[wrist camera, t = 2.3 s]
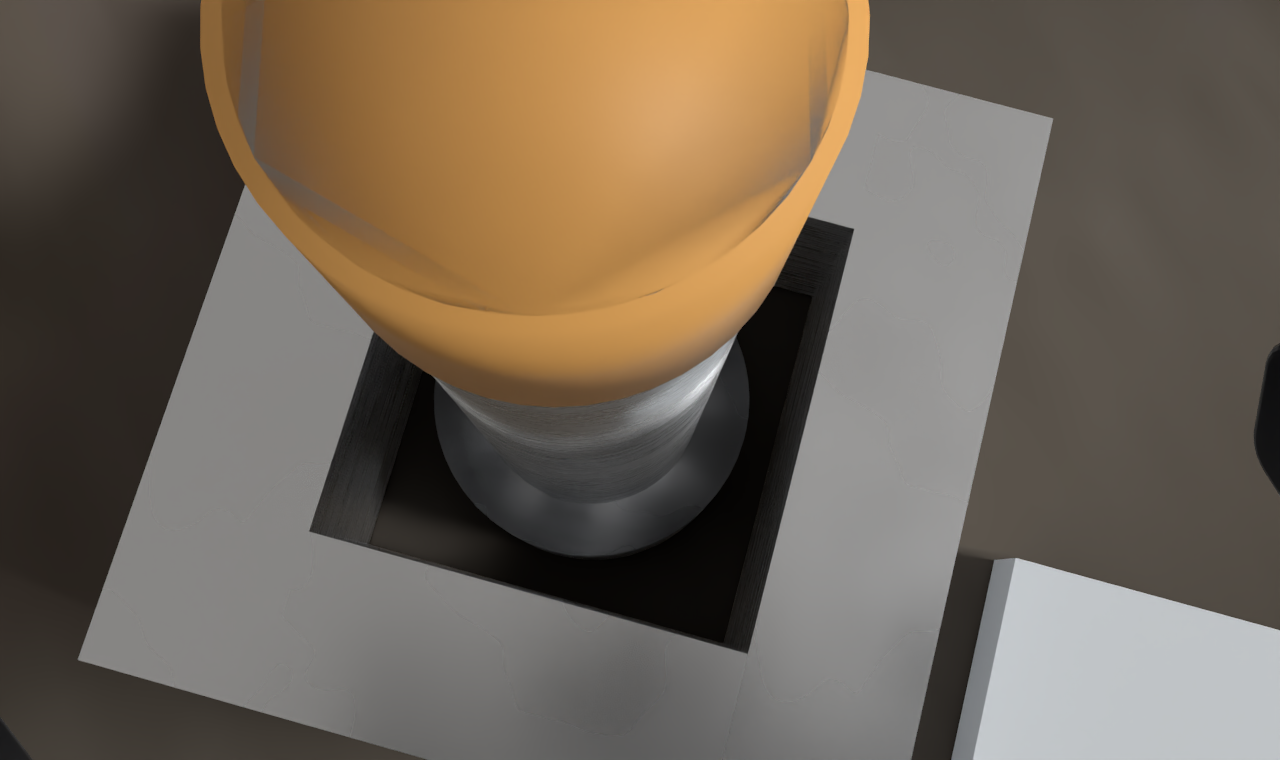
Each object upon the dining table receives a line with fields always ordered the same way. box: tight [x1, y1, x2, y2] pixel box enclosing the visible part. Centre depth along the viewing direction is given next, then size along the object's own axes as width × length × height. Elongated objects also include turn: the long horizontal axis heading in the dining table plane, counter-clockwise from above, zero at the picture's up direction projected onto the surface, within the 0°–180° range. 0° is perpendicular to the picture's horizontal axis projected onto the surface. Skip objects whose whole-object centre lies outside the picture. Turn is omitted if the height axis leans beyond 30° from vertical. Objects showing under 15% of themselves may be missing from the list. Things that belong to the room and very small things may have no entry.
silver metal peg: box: [200, 0, 870, 560], centre depth 12 cm, size 4×4×13 cm
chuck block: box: [78, 70, 1053, 760], centre depth 17 cm, size 10×10×4 cm
